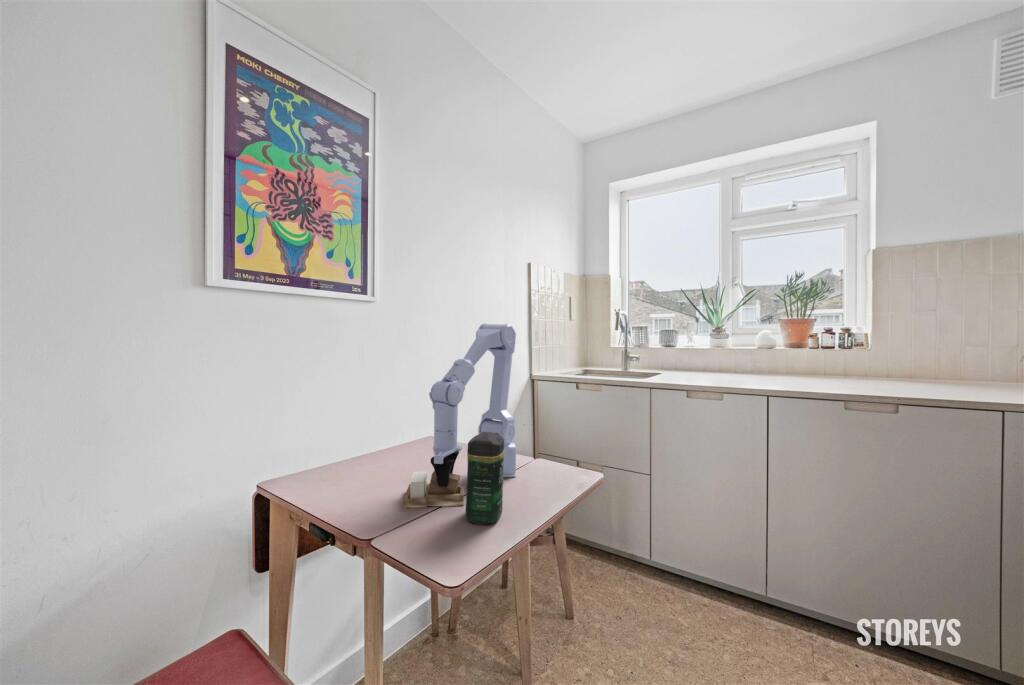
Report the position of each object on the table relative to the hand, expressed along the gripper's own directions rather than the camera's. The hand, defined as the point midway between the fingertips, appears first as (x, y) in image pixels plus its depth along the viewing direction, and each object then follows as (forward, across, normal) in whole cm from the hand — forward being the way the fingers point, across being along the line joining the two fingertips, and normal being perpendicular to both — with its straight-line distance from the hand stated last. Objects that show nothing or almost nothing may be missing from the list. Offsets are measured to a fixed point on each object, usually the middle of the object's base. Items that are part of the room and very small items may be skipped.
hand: (444, 483), depth 99 cm
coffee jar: (+4, -9, -11) cm, 15 cm away
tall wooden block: (+2, 0, +1) cm, 3 cm away
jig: (+4, 0, +2) cm, 4 cm away
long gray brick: (+3, -1, +6) cm, 7 cm away
